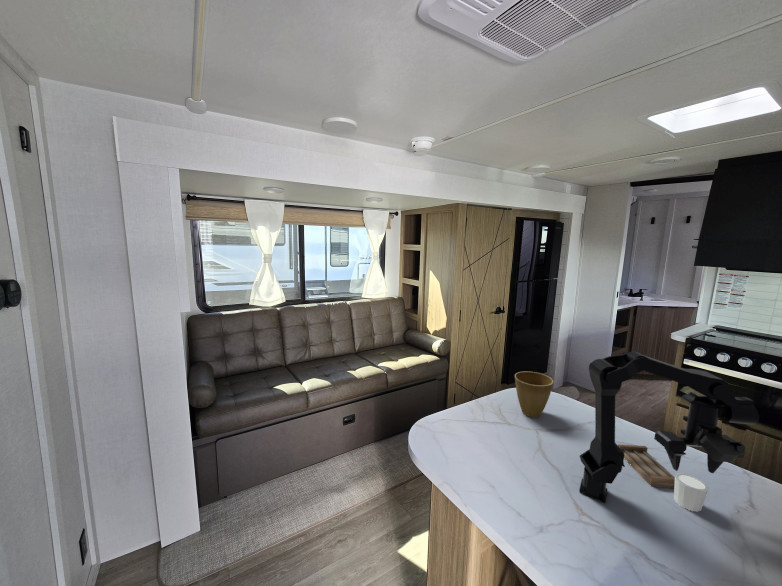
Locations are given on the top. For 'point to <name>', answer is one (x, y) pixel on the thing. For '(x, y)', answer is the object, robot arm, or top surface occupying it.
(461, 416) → the top surface
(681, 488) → the white tapered cylinder
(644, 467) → the rack
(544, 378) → the plant pot
